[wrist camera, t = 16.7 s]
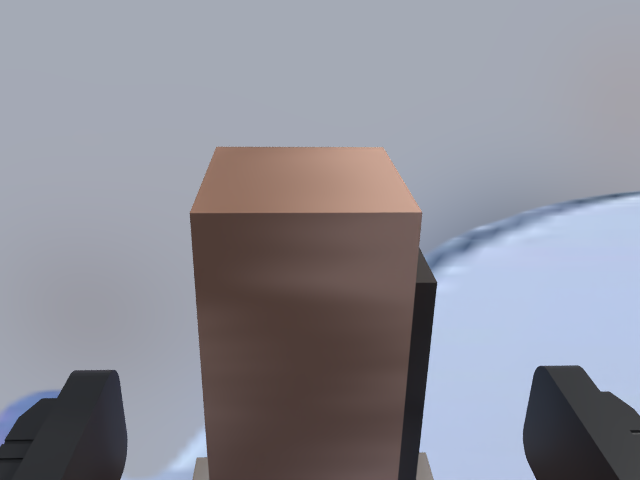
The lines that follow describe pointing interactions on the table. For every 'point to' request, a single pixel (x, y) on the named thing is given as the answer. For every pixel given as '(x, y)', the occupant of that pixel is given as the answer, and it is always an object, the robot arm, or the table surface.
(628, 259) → the table surface
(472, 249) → the table surface
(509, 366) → the table surface
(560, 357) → the table surface
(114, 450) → the robot arm
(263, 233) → the tall copper pillar
